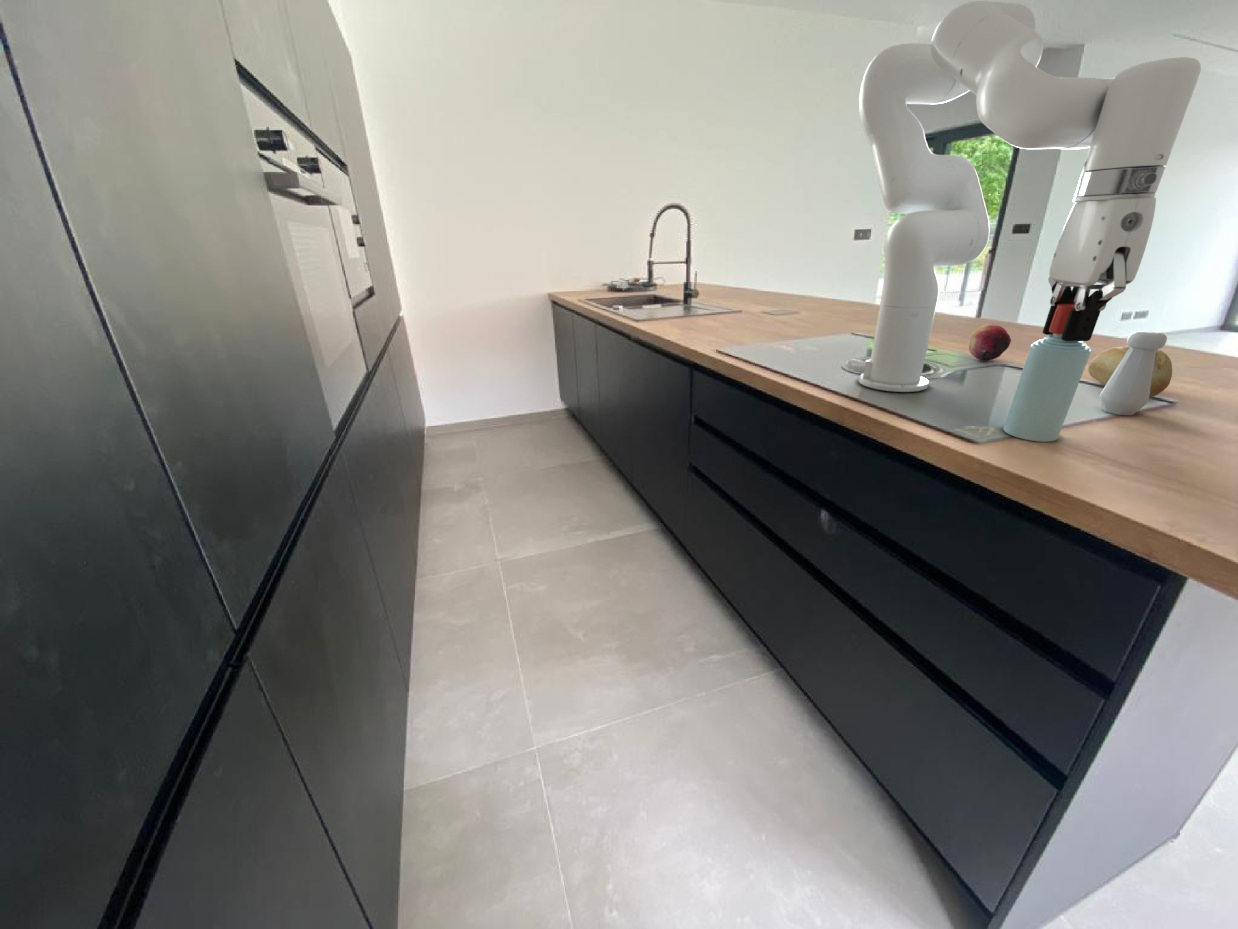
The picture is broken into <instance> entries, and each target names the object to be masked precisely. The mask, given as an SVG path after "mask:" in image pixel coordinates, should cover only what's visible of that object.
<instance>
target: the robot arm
mask: <svg viewBox="0 0 1238 929" xmlns="http://www.w3.org/2000/svg"><path fill="white" fill-rule="evenodd" d="M1043 51H1044V41H1043V38H1042V36H1041V34H1040V33H1039V32H1037V31H1036V18H1035V16H1034V13H1033V11H1032V10H1031V9H1030V8H1029V7H1028V6H1027V5H1025V4H1022V3H1017V2H1002V1H989V0H988V1H986V0H974V1H969V2H965V3H962V4H960V5H958V6H955V7H954V8H953V9H951V10H950V11H949V12H948V13H946V14H945V15H944V17H943V18H942V19H940V21H939V23H938V24H937V26H936V27H935V29H934V31H933V34H932V37H931V42H930V43H918V42H917V43H915V42H914V43H910V42H909V43H900V44H896V45H892V46H889V47H887V48H885V49H883V50H881V51H880V52H878V53H877V54H876V55H875V56H874V57H873V59H872V60H871V61H870V62H869V64H868V66H867V67H866V70H865V72H864V75H863V78H862V81H861V84H860V90H859V95H858V96H859V97H858V114H859V119H860V120H859V121H860V124H861V128H862V130H863V132H864V135H865V138H866V139H867V142H868V144H869V147H870V150H871V154H872V157H873V162H874V167H875V172H876V176H877V180H878V184H879V189H880V194H881V198H882V201H883V203H884V204H883V205H884V206H885V208H886V209H887V210H888V211H889V212H891V213H894V214H899V215H902V216H900V217H899V218H898V219H897V220H895V221H894V222H893V223H892V224H891V226H890V227H889V229H888V231H887V233H886V235H885V239H884V246H883V251H884V252H883V256H884V257H883V258H884V274H883V282H882V283H883V284H882V292H881V297H880V303H879V309H878V315H877V320H876V327H875V333H874V338H873V344H872V348H871V354H870V355H871V357H870V358H869V359H865V360H861V359H860V360H859V359H854V358H850V359H849V360H848V362H847V368H848V369H850V370H851V371H860V372H861V374H860V375H859V377H858V382H859V384H861V385H862V386H864V387H867V388H870V389H873V390H877V391H878V390H879V391H882V392H883V391H885V392H892V393H914V392H920V391H921V392H922V391H924V390H926V389H928V388H929V384H930V381H929V380H928V379H927V378H925V377H924V376H922V374H923V369H924V365H925V361H926V357H927V356H926V355H927V352H928V346H929V344H930V338H931V333H932V328H933V325H934V321H935V320H934V319H935V317H936V316H935V315H936V310H937V307H938V301H939V295H940V285H939V279H938V276H937V273H936V269H935V268H941V267H957V266H963V265H967V264H969V263H971V262H973V261H975V260H976V259H978V258H979V257H980V255H982V254H983V252H984V251H985V249H986V247H987V245H988V243H989V239H990V231H991V230H990V229H991V226H990V219H989V215H988V211H987V210H988V209H987V207H986V202H985V199H984V195H983V191H982V190H983V189H982V186H981V183H980V178H979V176H978V173H977V170H976V167H975V165H973V163H972V162H971V161H970V160H969V159H967V158H966V157H964V156H961V155H958V154H957V155H956V154H936V153H933V152H932V151H931V150H930V148H929V145H928V142H927V140H926V133H925V130H924V128H923V124H922V123H921V121H920V120H919V119H918V117H917V116H916V115H915V114H914V112H912V111H911V109H910V108H909V107H908V105H939V104H944V103H948V102H951V101H953V100H955V99H957V98H959V97H961V96H963V95H965V94H967V93H969V92H970V93H972V94H973V95H975V99H976V100H975V106H976V113H977V116H978V119H979V121H980V122H981V123H982V124H983V125H984V126H985V127H986V128H987V129H989V131H991V132H992V133H994V135H996V136H997V137H998V138H1000V139H1001V140H1003V141H1004V142H1005V143H1008V144H1009V145H1011V146H1014V147H1015V148H1019V149H1025V150H1047V149H1048V150H1049V149H1050V150H1053V149H1054V150H1055V149H1057V150H1082V149H1088V151H1087V155H1086V157H1085V161H1084V166H1083V168H1082V171H1081V174H1080V177H1079V180H1078V184H1077V187H1076V190H1075V193H1074V195H1073V196H1074V197H1073V199H1072V203H1074V204H1073V206H1072V208H1071V210H1070V212H1069V215H1068V217H1067V219H1066V222H1065V223H1064V226H1063V229H1062V232H1061V233H1060V236H1059V239H1058V242H1057V245H1056V247H1055V250H1054V253H1053V255H1052V256H1053V257H1052V260H1051V262H1050V263H1051V264H1050V267H1049V273H1048V274H1049V277H1048V279H1047V280H1048V283H1049V285H1050V288H1051V289H1050V290H1051V294H1052V295H1051V298H1050V300H1049V304H1050V308H1049V310H1048V314H1047V317H1046V319H1045V323H1044V326H1043V329H1042V334H1043V335H1047V336H1049V335H1053V333H1051V332H1049V327H1050V324H1051V321H1052V318H1053V315H1054V312H1055V309H1056V308H1057V305H1058V304H1076V307H1075V309H1076V310H1070V313H1069V316H1068V319H1067V322H1066V325H1065V328H1064V331H1063V334H1062V337H1061V339H1062V340H1064V341H1083V342H1088V341H1090V340H1091V339H1092V336H1093V333H1094V331H1095V327H1096V326H1097V322H1098V320H1099V317H1100V314H1101V312H1102V311H1104V310H1105V309H1106V307H1107V304H1108V303H1109V302H1110V301H1112V299H1113V298H1115V297H1116V296H1118V295H1120V294H1123V293H1124V292H1125V290H1126V288H1127V285H1129V284H1131V283H1132V282H1134V280H1135V279H1136V277H1137V274H1138V271H1139V269H1140V266H1141V264H1142V260H1143V257H1144V254H1145V251H1146V249H1147V244H1148V241H1149V237H1150V234H1151V230H1152V227H1153V222H1154V217H1155V213H1156V212H1155V211H1156V204H1157V197H1155V196H1156V194H1157V192H1158V188H1159V186H1160V183H1161V180H1162V178H1163V175H1164V172H1165V170H1166V166H1167V164H1168V162H1169V159H1170V156H1171V154H1172V151H1173V149H1174V146H1175V143H1176V140H1177V137H1178V135H1179V132H1180V130H1181V127H1182V124H1183V121H1184V118H1185V116H1186V113H1187V111H1188V108H1189V105H1190V102H1191V100H1192V98H1193V94H1194V92H1195V89H1196V87H1197V84H1198V81H1199V78H1200V75H1201V71H1202V66H1201V62H1200V61H1199V60H1198V59H1197V58H1194V57H1188V56H1187V57H1186V56H1183V57H1172V58H1171V57H1169V58H1163V59H1157V60H1151V61H1147V62H1142V63H1138V64H1135V65H1132V66H1130V67H1127V68H1125V69H1123V70H1122V71H1120V72H1118V74H1117V75H1115V76H1114V77H1113V78H1102V77H1101V78H1098V77H1080V76H1079V77H1077V76H1076V77H1075V76H1055V75H1052V74H1050V73H1049V72H1046V71H1044V70H1043V69H1041V68H1039V67H1038V66H1039V63H1040V61H1041V58H1042V56H1043ZM1097 283H1099V284H1097ZM1091 291H1093V292H1092V293H1091ZM1090 293H1091V294H1090Z"/></svg>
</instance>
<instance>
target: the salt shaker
mask: <svg viewBox="0 0 1238 929" xmlns="http://www.w3.org/2000/svg"><path fill="white" fill-rule="evenodd" d="M1167 340H1168V337H1167V335H1166V334H1165V333H1163V332H1160V331H1152V330H1138V331H1134V332H1131V333H1130V334H1129V336H1128V337H1127V340H1126V346H1130V348H1129V349H1128V351H1127V352H1126V354H1125V356H1124V357H1123V359H1122V360H1121V362H1120V363H1119V365H1118V367H1117V368H1116V370H1115V371H1114V373H1113V375H1112V376H1111V378H1110V379H1109V381H1108V382H1107V384H1106V385H1104V387H1103V389H1102V391H1100V394H1099V400H1100V402H1099V403H1100V408H1101V410H1102V411H1103V412H1105V413H1109V414H1113V415H1117V416H1134V415H1135V414H1136V413H1137V412H1138V411H1140V410H1141V409H1142V408H1143V407H1145V406H1146V405H1147V404H1148V403H1149V401H1150V397H1149V394H1150V387H1151V380H1152V373H1153V366H1154V360H1155V354H1156V349H1158V350H1160V349H1163V348H1164V347H1165V345H1166V344H1167V342H1168V341H1167Z"/></svg>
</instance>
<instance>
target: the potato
mask: <svg viewBox="0 0 1238 929" xmlns="http://www.w3.org/2000/svg"><path fill="white" fill-rule="evenodd" d="M1129 348H1130V346H1127V345H1124V346H1118V347H1116V346H1115V347H1114V346H1113V347H1111V348H1108V349H1105V350H1102V351H1101V352H1099V353H1098V354H1097V355H1096V356H1095V357H1094V358H1093V359H1091V360H1090V362H1089V364H1088V368H1087V371H1088V374H1089V375H1090V377H1091V378H1092V379H1095V380H1096V381H1098V382H1100V383H1102V384H1103V385H1104V386H1106V384H1107V382H1108V381H1109V379H1110V378H1111V376H1112V375H1113V373H1114V371H1115V370H1116V368H1117V367H1118V365H1119V363H1120V362H1121V360H1122V359H1123V357H1124V356H1125V354H1126V352H1127V351H1128V349H1129ZM1172 377H1173V363H1172V359H1171V358H1170V357H1169V355H1167V354H1166V353H1165V352H1163V351H1162V350H1160V349H1156V354H1155V360H1154V366H1153V373H1152V380H1151V387H1150V394H1149V398H1153V397H1156V396H1158V395H1160V394H1161V393H1162V392H1163V391H1165V390H1166V389H1167V388H1168V386H1169V385H1170V384H1171V380H1172Z"/></svg>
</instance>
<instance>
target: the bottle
mask: <svg viewBox="0 0 1238 929" xmlns="http://www.w3.org/2000/svg"><path fill="white" fill-rule="evenodd" d="M1061 337H1062V335H1061V334H1055V333H1053V335H1048V336H1046V337H1043V338H1042V339H1041V338H1040V339H1039V340H1036V341H1034V342H1033V343H1032V344H1031V345H1030V347H1029V350H1028V353H1027V356H1026V359H1025V362H1024V365H1023V368H1022V371H1021V374H1020V377H1019V380H1018V383H1017V386H1016V389H1015V392H1014V395H1013V398H1012V401H1011V404H1010V407H1009V409H1008V413H1007V416H1006V419H1005V422H1004V425H1003V431H1004V432H1005V433H1006V434H1008V435H1010V436H1012V437H1015V438H1018V439H1021V440H1026V441H1031V442H1042V443H1047V442H1054V441H1057V440H1058V438H1059V436H1060V433H1061V431H1062V428H1063V425H1064V423H1065V421H1066V418H1067V416H1068V412H1069V410H1070V407H1071V404H1072V403H1073V399H1074V397H1075V394H1076V392H1077V389H1078V386H1079V384H1080V381H1081V379H1082V376H1083V374H1084V371H1085V368H1086V366H1087V363H1088V361H1089V359H1090V355H1091V353H1092V350H1091V347H1090V346H1088V345H1087V343H1085V342H1084V341H1064V340H1062V339H1061Z"/></svg>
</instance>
